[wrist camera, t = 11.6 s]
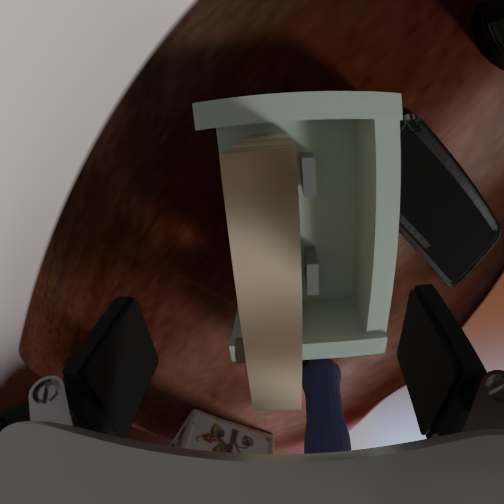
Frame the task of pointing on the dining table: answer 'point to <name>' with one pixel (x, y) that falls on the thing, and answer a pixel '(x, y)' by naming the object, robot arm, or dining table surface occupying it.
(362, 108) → the cabinet
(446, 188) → the phone
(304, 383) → the rubber mallet
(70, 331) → the dining table surface
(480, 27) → the supplement bottle
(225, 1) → the dining table surface
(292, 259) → the wooden block
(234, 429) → the decorative jar
